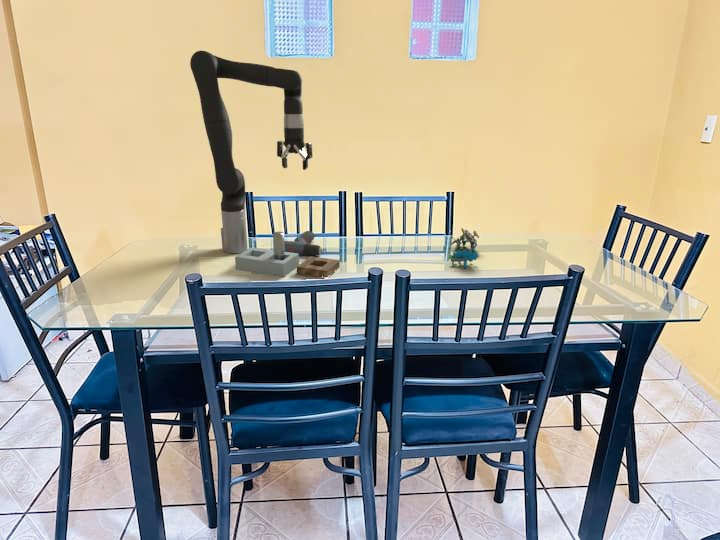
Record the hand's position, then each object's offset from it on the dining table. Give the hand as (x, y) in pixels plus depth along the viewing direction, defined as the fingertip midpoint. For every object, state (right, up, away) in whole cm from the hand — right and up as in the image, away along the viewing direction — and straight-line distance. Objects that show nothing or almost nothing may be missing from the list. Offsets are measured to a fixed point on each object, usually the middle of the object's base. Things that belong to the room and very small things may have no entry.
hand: (295, 168), depth 194 cm
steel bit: (-4, -40, -12) cm, 42 cm away
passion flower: (+70, -32, +13) cm, 78 cm away
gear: (+66, -39, -4) cm, 76 cm away
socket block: (+10, -40, -12) cm, 44 cm away
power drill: (+4, -32, +12) cm, 34 cm away
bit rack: (-9, -39, -10) cm, 41 cm away
